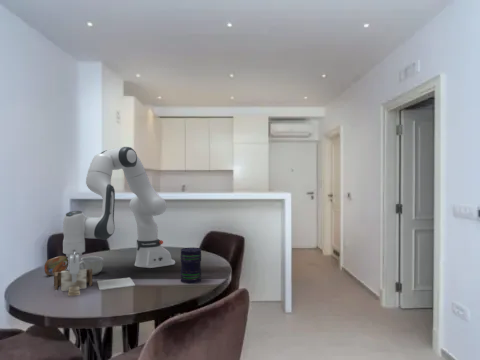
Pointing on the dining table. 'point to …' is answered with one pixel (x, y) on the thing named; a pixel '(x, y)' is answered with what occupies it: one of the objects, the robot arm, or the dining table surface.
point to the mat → (115, 283)
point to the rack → (58, 278)
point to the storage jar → (190, 265)
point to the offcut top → (74, 289)
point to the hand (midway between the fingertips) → (73, 279)
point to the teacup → (92, 264)
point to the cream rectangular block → (67, 280)
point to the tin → (56, 265)
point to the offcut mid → (73, 292)
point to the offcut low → (74, 295)
